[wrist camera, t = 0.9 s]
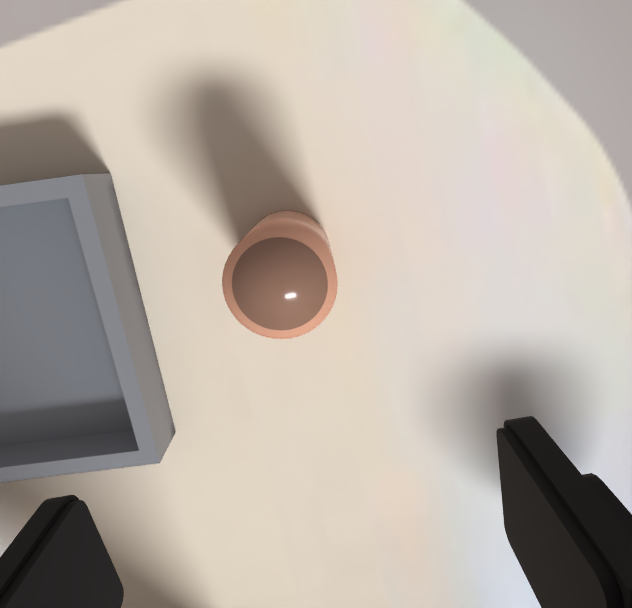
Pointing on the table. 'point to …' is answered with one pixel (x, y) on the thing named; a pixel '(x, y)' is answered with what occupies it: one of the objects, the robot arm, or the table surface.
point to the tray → (73, 336)
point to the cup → (281, 276)
